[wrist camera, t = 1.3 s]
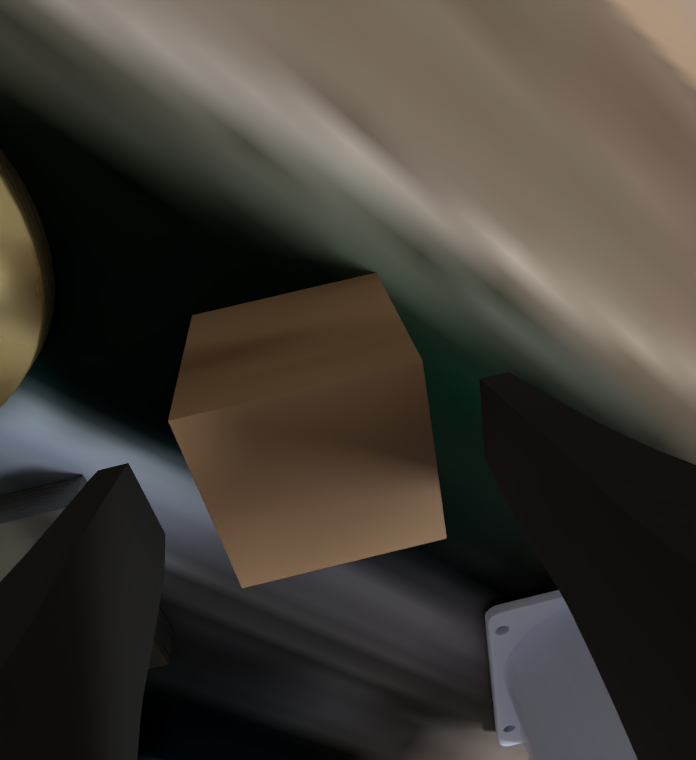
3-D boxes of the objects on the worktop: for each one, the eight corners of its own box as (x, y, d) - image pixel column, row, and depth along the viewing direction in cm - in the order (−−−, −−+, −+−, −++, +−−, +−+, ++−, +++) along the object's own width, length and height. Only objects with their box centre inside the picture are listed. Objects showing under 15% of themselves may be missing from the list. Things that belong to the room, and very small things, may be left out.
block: (401, 419, 16) (446, 538, 12) (245, 457, 16) (241, 588, 12) (375, 271, 14) (422, 360, 10) (192, 313, 14) (167, 420, 10)
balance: (307, 776, 25) (322, 986, 20) (107, 826, 25) (64, 1053, 19) (-97, -71, 9) (-618, -238, 4) (-650, 47, 9) (-2064, 58, 4)
